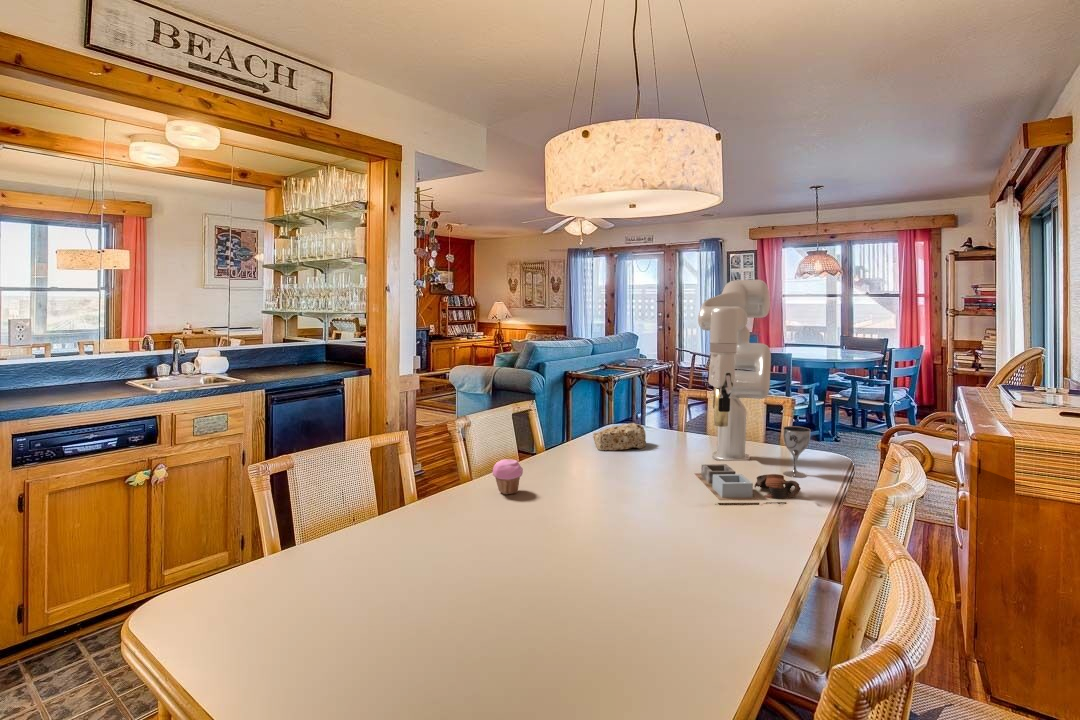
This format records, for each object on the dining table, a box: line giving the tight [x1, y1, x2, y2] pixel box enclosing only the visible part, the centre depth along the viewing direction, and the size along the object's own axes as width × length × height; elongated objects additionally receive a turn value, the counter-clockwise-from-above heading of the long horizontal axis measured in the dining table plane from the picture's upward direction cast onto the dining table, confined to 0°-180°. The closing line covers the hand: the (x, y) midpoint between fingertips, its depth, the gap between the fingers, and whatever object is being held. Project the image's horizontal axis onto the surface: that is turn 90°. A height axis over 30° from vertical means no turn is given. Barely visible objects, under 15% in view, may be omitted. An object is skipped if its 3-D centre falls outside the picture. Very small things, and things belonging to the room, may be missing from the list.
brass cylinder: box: [713, 386, 728, 427], centre depth 166 cm, size 4×4×12 cm
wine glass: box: [782, 425, 811, 479], centre depth 179 cm, size 8×8×15 cm
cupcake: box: [492, 458, 524, 495], centre depth 163 cm, size 9×9×10 cm
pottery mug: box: [753, 473, 801, 505], centre depth 157 cm, size 12×10×8 cm
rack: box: [712, 473, 754, 498], centre depth 158 cm, size 8×8×4 cm
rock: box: [592, 422, 647, 452], centre depth 216 cm, size 21×14×10 cm
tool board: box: [694, 463, 760, 506], centre depth 164 cm, size 24×11×5 cm, turn 1°
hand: (721, 409), depth 167 cm, fingers closed on brass cylinder, 4 cm apart
